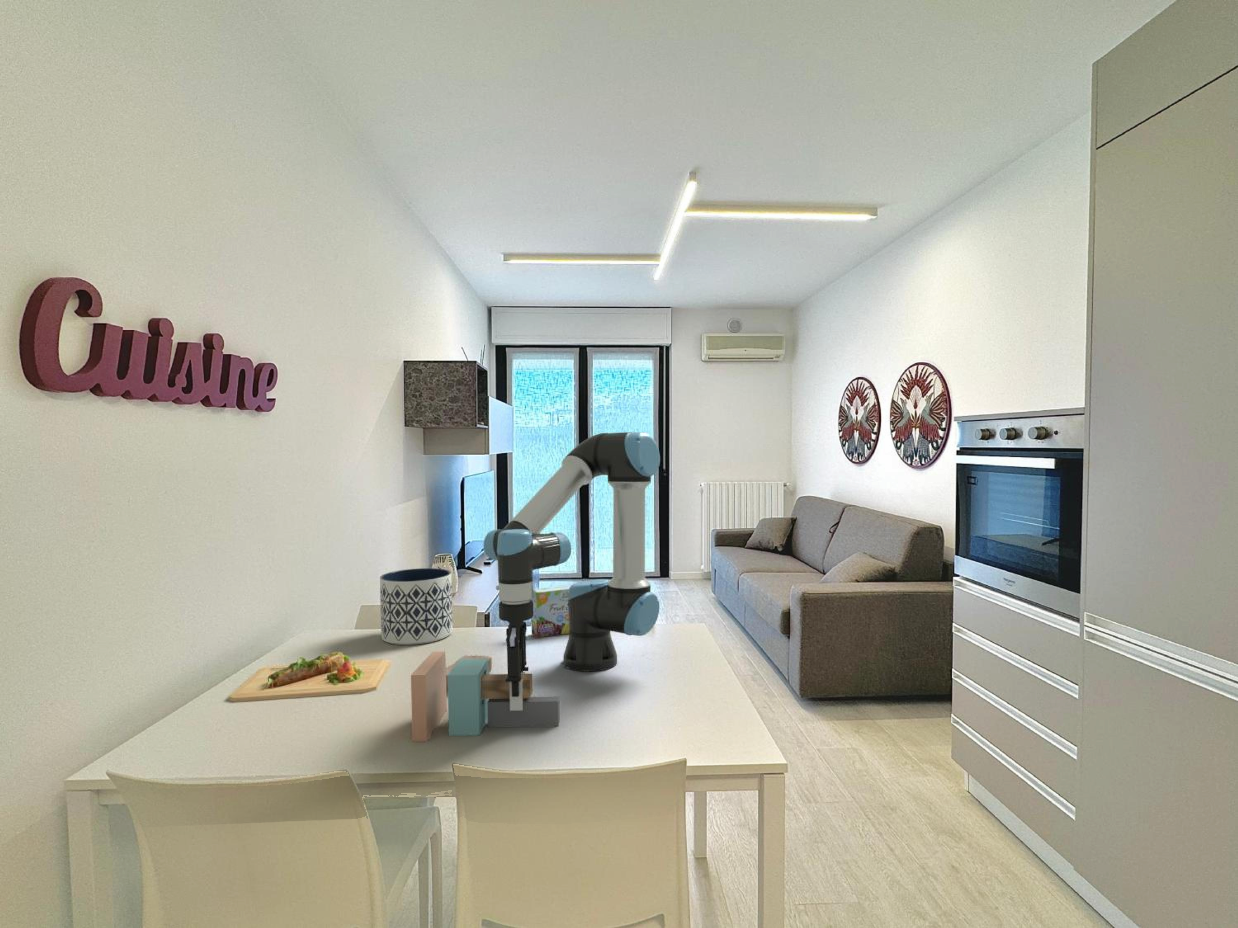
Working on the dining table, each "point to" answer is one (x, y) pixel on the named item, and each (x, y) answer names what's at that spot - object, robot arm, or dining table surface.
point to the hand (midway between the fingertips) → (518, 705)
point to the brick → (466, 658)
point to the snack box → (550, 611)
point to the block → (467, 697)
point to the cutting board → (313, 678)
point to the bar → (503, 686)
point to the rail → (524, 712)
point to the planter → (416, 606)
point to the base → (428, 695)
